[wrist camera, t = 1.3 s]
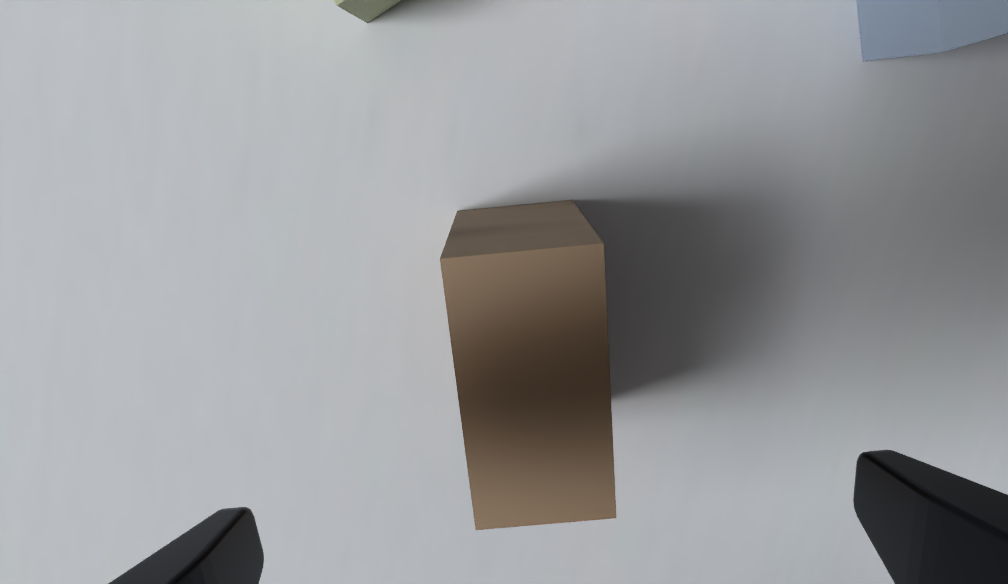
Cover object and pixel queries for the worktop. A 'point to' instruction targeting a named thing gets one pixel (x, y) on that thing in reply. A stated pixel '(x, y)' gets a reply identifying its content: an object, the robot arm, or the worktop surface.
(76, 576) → the worktop surface
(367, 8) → the olive brick
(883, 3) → the slate brick
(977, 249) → the worktop surface
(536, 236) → the walnut brick
